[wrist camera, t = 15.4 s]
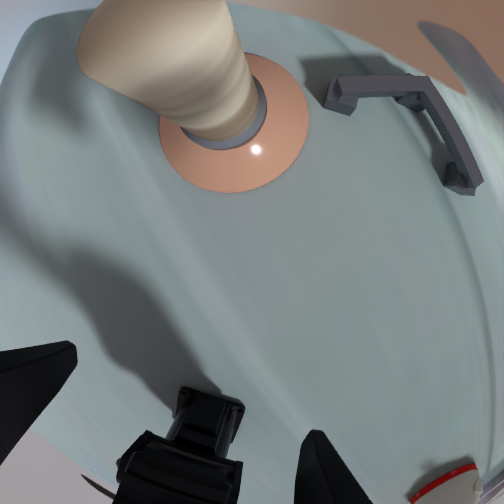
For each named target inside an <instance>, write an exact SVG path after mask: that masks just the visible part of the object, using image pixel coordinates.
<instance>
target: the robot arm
mask: <svg viewBox="0 0 504 504" xmlns="http://www.w3.org/2000/svg"><path fill="white" fill-rule="evenodd" d="M77 363H78V359H77V350H76V346H75V345H74V344H73V343H71V342H70V341H67V340H66V341H60V342H55V343H49V344H44V345H38V346H32V347H26V348H20V349H13V350H7V351H0V465H1V464H2V463H3V461H4V460H5V459H6V457H7V456H8V454H9V453H10V452H11V450H12V449H13V448H14V446H15V445H16V444H17V443H18V441H19V440H20V438H21V437H22V436H23V435H24V434H25V432H26V431H27V430H28V429H29V427H30V426H31V425H32V424H33V422H34V421H35V420H36V419H37V417H38V416H39V415H40V414H41V413H42V411H43V410H44V409H45V408H46V407H47V405H48V404H49V403H50V402H51V401H52V399H53V398H54V397H55V396H56V395H57V393H58V392H59V391H60V389H61V388H62V387H63V385H64V384H65V382H66V381H67V379H68V378H69V376H70V375H71V373H72V372H73V370H74V369H75V367H76V366H77ZM184 391H185V392H184ZM239 409H241V410H239ZM244 412H245V406H243V405H241V404H237V403H234V402H230V401H227V400H223V399H220V398H217V397H214V396H211V395H207V394H204V393H201V392H198V391H195V390H193V389H190V388H187V387H181V388H180V390H179V395H178V402H177V410H176V417H175V420H174V422H173V424H172V426H171V428H170V430H169V432H168V433H167V435H166V437H165V438H163V437H160V436H158V435H155V434H153V433H152V432H150V431H148V430H146V431H145V432H144V433H143V434H142V435H140V436H139V438H138V439H137V440H136V441H135V442H134V443H133V444H132V445H131V446H130V448H129V449H128V450H127V451H126V452H125V453H124V454H123V455H122V457H121V458H119V459H118V460H117V462H116V465H117V467H118V471H117V475H116V480H117V483H119V484H120V485H119V488H118V491H117V494H116V496H115V498H114V501H113V503H112V504H237V500H238V496H239V491H240V484H241V476H242V468H243V462H241V461H233V460H229V459H226V456H227V453H228V449H229V445H230V444H231V443H232V442H233V440H234V438H235V435H236V433H237V430H238V428H239V425H240V423H241V420H242V417H243V415H244ZM368 499H369V497H368V496H367V495H366V493H365V492H364V490H363V489H362V487H361V486H360V485H359V483H358V482H357V480H356V479H355V477H354V476H353V475H352V473H351V472H350V470H349V469H348V467H347V466H346V464H345V463H344V461H343V460H342V459H341V457H340V456H339V454H338V453H337V451H336V450H335V448H334V447H333V445H332V444H331V442H330V441H329V439H328V438H327V436H326V435H325V433H324V432H323V431H321V430H315V429H312V430H311V431H310V432H309V433H308V435H307V436H306V438H305V439H304V441H303V442H302V445H301V449H300V455H299V461H298V467H297V473H296V479H295V492H294V504H373V503H372V501H371V500H370V499H369V500H368Z"/></svg>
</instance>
